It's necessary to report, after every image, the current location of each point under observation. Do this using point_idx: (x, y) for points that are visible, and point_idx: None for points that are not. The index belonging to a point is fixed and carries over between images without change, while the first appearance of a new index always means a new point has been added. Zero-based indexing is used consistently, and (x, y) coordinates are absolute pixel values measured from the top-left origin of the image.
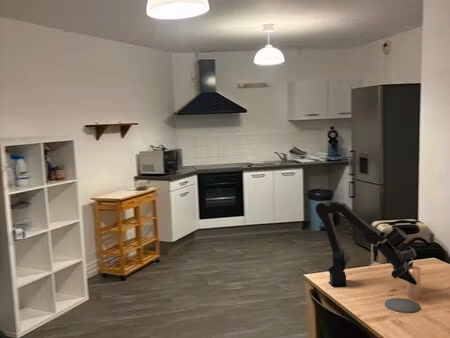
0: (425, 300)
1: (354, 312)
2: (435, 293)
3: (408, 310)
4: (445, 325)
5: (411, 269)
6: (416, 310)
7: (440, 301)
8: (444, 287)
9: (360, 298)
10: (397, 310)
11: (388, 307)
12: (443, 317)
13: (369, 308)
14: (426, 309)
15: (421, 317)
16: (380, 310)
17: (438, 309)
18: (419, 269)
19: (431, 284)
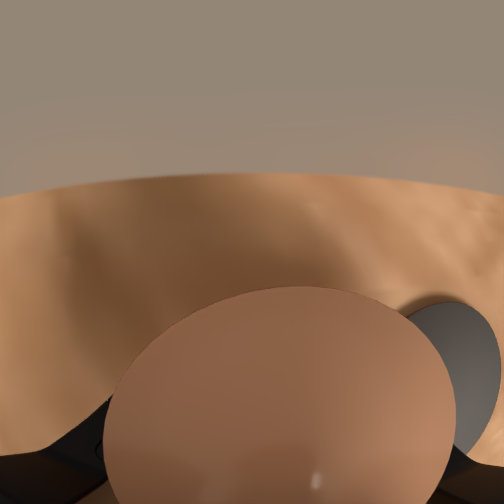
0: (287, 286)
1: None
2: (129, 230)
3: (494, 343)
4: (499, 195)
5: (431, 483)
6: (473, 311)
7: (265, 197)
8: (39, 194)
9: None
10: (497, 388)
11: (477, 436)
12: (457, 194)
13: None
14: (423, 269)
15: (497, 281)
16: (484, 452)
17: (393, 209)
18: (377, 313)
19: (11, 259)
